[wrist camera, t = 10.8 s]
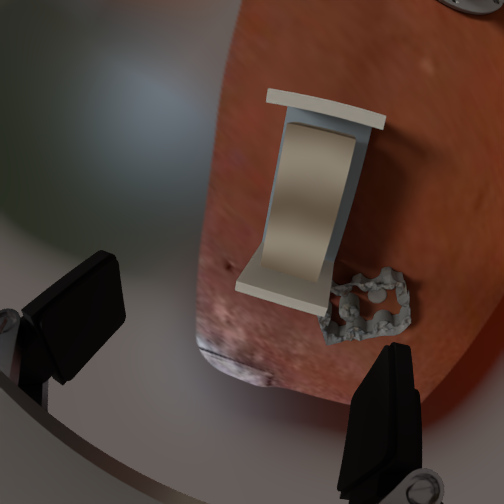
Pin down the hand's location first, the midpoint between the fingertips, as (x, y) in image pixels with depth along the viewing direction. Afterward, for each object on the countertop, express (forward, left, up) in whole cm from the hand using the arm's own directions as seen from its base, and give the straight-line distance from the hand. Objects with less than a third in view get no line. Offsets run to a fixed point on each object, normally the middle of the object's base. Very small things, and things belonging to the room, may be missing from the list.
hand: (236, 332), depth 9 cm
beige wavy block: (+1, 0, -19) cm, 19 cm away
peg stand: (+1, 0, -23) cm, 23 cm away
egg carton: (+12, +9, -23) cm, 28 cm away
